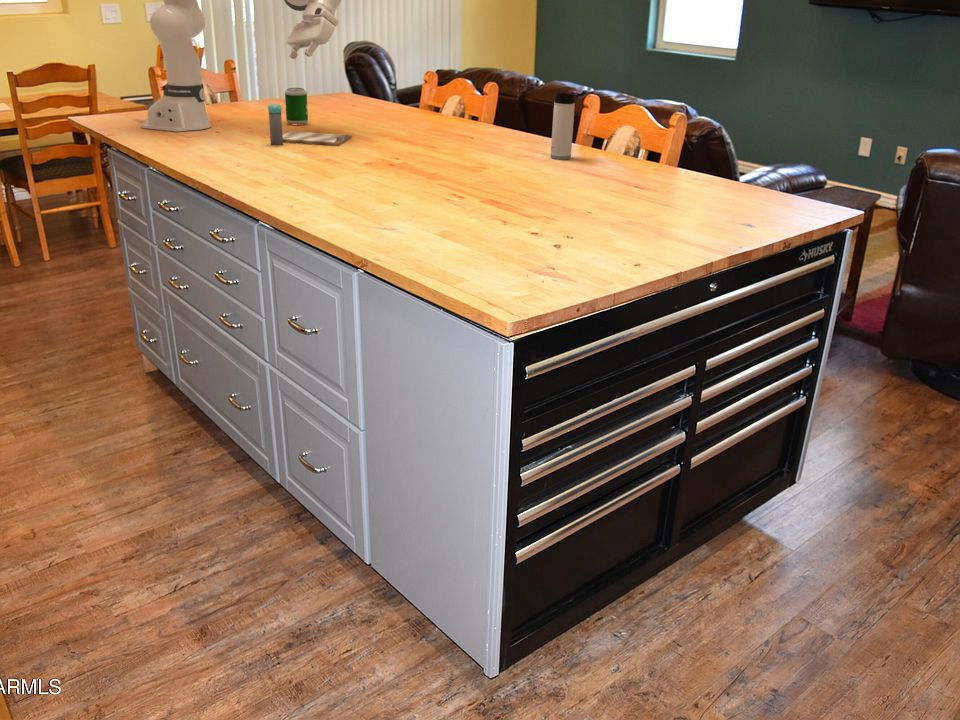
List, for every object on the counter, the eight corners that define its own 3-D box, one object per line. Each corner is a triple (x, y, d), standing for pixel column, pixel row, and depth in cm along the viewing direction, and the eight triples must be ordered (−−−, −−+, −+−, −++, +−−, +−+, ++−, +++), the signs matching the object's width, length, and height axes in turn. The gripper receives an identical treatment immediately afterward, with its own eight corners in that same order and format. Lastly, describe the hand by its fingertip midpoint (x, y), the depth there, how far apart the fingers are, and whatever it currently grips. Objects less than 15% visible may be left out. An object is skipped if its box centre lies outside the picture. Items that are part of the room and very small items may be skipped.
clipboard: (271, 141, 287) (271, 136, 286) (287, 133, 301) (287, 128, 300) (338, 146, 284) (338, 140, 284) (351, 137, 298) (351, 132, 297)
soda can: (306, 126, 314) (304, 90, 309) (284, 125, 314) (282, 89, 309) (310, 122, 321) (308, 87, 316) (289, 121, 321) (287, 86, 316)
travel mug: (546, 158, 278) (551, 91, 269) (555, 154, 283) (559, 89, 275) (565, 161, 275) (570, 93, 267) (573, 157, 280) (578, 91, 272)
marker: (268, 145, 282) (266, 106, 277) (273, 143, 286) (270, 104, 281) (280, 146, 281) (278, 106, 277) (285, 143, 285) (283, 104, 280)
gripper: (292, 16, 290) (275, 53, 289) (326, 8, 275) (308, 48, 273) (308, 27, 294) (291, 64, 293) (342, 21, 279) (324, 60, 278)
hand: (299, 56), depth 283 cm, fingers open, 8 cm apart
